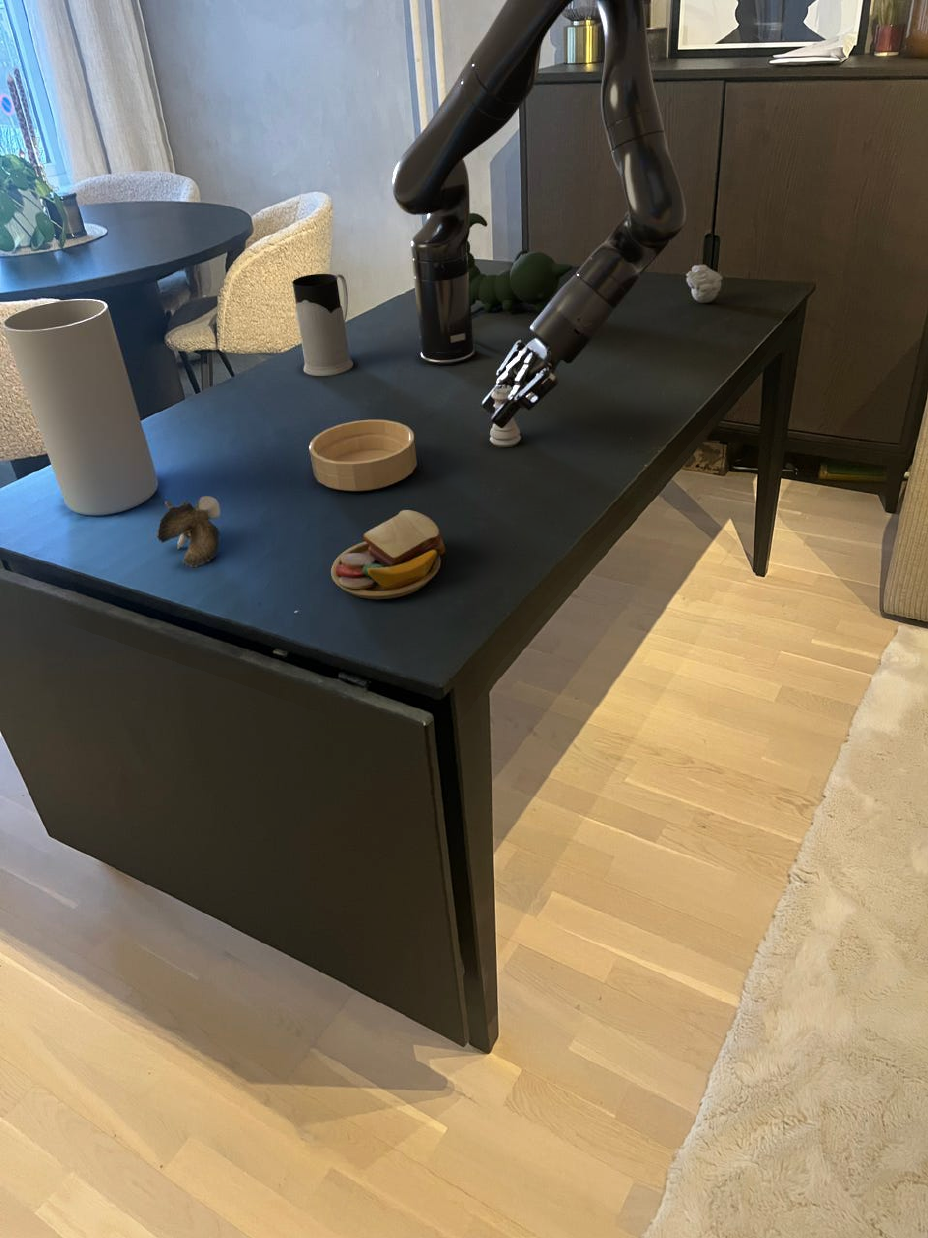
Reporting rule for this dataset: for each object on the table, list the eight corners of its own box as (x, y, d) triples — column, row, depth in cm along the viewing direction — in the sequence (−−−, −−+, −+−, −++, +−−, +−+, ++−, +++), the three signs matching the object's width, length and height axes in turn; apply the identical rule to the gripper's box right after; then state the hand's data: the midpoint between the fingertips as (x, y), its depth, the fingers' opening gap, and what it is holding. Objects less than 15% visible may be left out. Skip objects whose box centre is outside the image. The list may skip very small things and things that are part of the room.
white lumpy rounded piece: (680, 299, 182) (682, 262, 179) (715, 296, 183) (718, 258, 179) (689, 309, 178) (692, 270, 174) (726, 305, 178) (729, 267, 174)
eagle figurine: (154, 529, 118) (145, 553, 110) (174, 479, 116) (167, 498, 108) (212, 552, 121) (208, 576, 113) (233, 503, 119) (230, 524, 111)
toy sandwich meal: (316, 566, 110) (309, 531, 108) (419, 532, 115) (415, 498, 112) (358, 617, 101) (351, 579, 98) (468, 578, 106) (465, 541, 103)
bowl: (317, 454, 136) (312, 425, 134) (415, 444, 137) (412, 415, 134) (312, 499, 125) (306, 468, 122) (418, 488, 125) (415, 457, 122)
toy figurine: (450, 321, 187) (567, 319, 176) (434, 220, 177) (556, 211, 166) (471, 306, 194) (585, 303, 183) (456, 209, 184) (576, 199, 173)
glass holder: (294, 373, 164) (278, 286, 156) (333, 346, 175) (320, 263, 166) (338, 377, 161) (324, 288, 153) (375, 349, 172) (364, 264, 163)
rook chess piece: (524, 436, 136) (522, 382, 131) (516, 449, 133) (513, 395, 128) (495, 433, 137) (492, 381, 133) (485, 446, 134) (482, 393, 129)
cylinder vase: (108, 525, 123) (45, 335, 108) (47, 506, 129) (-21, 324, 114) (178, 485, 131) (128, 304, 117) (118, 469, 137) (63, 295, 123)
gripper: (537, 288, 131) (459, 384, 136) (569, 317, 120) (484, 421, 125) (573, 320, 135) (497, 412, 140) (608, 352, 123) (524, 451, 129)
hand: (491, 416), depth 132 cm, fingers open, 5 cm apart
